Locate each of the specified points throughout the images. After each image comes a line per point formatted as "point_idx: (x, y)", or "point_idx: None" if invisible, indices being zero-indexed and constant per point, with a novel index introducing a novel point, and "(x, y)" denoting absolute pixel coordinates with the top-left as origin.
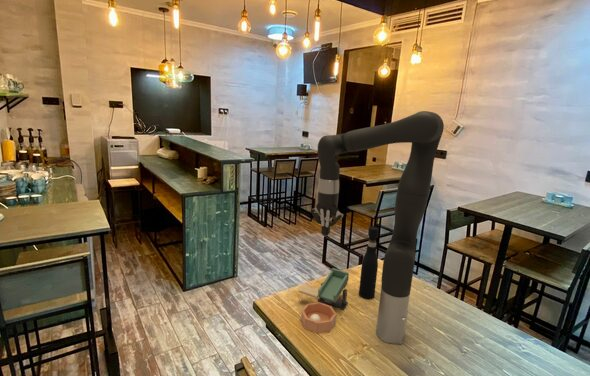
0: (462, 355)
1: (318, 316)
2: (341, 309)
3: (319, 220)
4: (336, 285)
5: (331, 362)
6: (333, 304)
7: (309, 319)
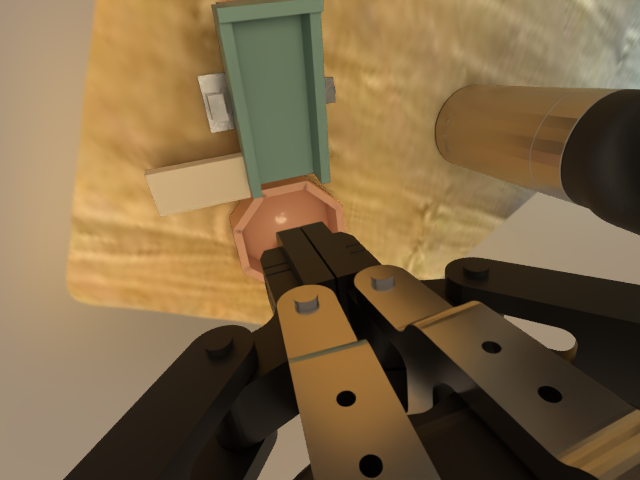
0: (617, 75)
1: None
2: None
3: (262, 451)
4: (282, 86)
5: None
6: None
7: None
